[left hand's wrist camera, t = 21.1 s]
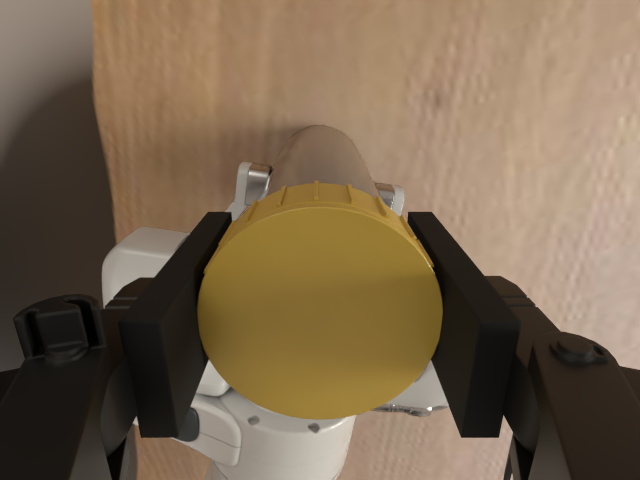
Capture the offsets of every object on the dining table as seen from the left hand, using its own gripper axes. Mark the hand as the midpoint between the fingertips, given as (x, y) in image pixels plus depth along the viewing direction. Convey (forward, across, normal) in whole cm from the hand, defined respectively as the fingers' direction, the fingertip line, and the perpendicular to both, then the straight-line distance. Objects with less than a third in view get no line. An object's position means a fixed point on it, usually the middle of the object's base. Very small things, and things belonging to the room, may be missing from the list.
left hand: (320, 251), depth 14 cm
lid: (-4, 0, 0) cm, 4 cm away
